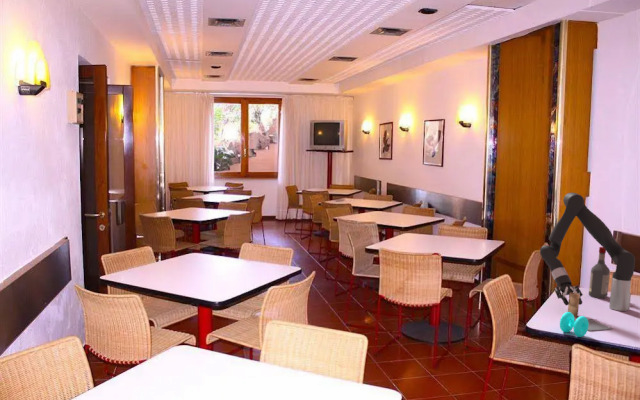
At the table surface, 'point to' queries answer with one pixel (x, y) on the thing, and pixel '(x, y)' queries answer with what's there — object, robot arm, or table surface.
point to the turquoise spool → (574, 324)
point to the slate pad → (596, 326)
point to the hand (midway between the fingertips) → (574, 304)
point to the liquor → (599, 277)
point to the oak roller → (573, 303)
